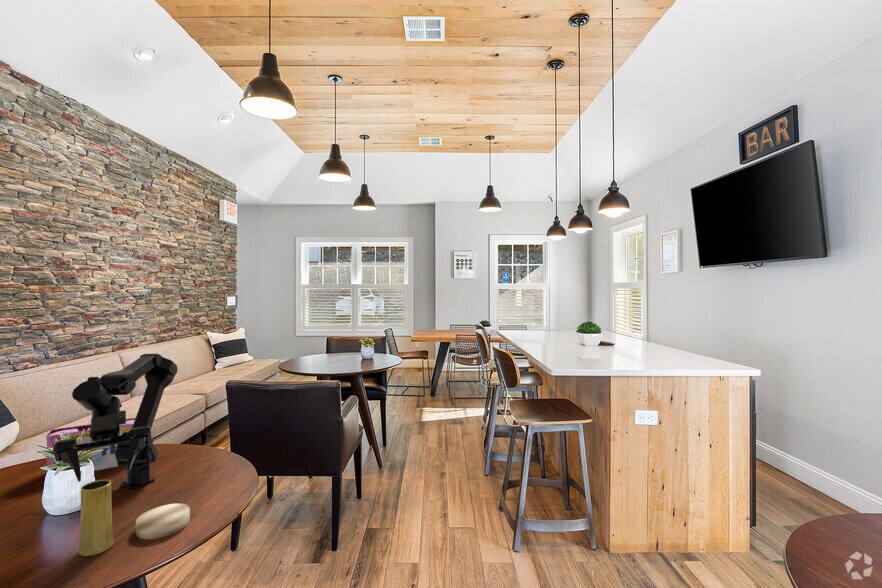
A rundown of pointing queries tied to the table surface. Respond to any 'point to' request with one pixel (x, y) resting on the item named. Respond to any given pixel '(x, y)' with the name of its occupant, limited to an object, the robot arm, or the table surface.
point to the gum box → (100, 459)
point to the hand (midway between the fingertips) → (104, 475)
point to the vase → (96, 518)
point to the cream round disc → (162, 521)
